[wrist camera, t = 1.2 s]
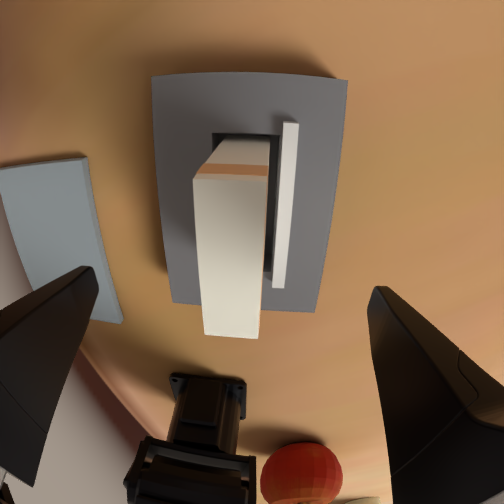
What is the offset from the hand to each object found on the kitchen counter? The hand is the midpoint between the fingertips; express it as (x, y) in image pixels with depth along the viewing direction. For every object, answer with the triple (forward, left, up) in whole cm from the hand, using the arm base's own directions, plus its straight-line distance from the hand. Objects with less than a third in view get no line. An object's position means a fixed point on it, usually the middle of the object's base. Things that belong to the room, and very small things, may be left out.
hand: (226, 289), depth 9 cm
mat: (-4, +13, -8) cm, 16 cm away
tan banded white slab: (0, 0, -7) cm, 7 cm away
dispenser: (0, 0, -8) cm, 8 cm away
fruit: (-31, -7, -8) cm, 33 cm away
